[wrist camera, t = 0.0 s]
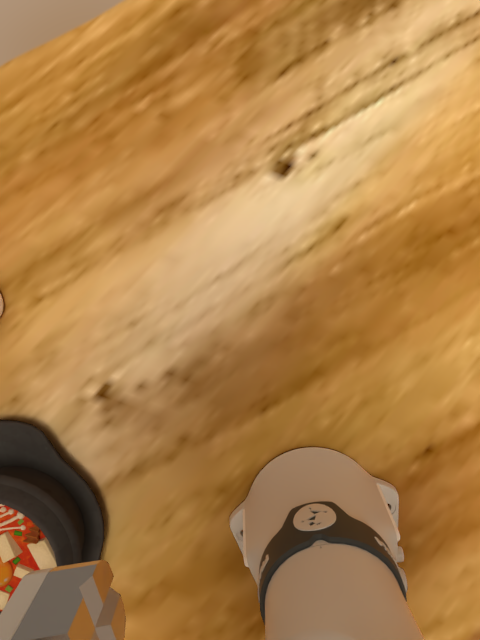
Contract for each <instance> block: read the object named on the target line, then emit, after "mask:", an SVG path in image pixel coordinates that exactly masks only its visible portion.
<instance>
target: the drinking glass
mask: <svg viewBox="0 0 480 640" xmlns="http://www.w3.org/2000/svg"><path fill="white" fill-rule="evenodd" d="M3 307H4V304H3V298H2V295H1V293H0V317H1V315H2V312H3Z"/></svg>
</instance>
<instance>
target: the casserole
mask: <svg viewBox="0 0 480 640" xmlns="http://www.w3.org/2000/svg"><path fill="white" fill-rule="evenodd" d="M103 542H104V522H103V517H102V513H101V508H100V506H99V504H98V502H97V499H96V497H95V495H94V493H93V492H92V490H91V489H90V487H89V486H88V484H87V483H86V481H85V480H84V479H83V478H82V477H81V476H80V475H79V474H78V473H77V472H76V471H75V470H74V469H72V468H71V467H70V466H69V465H68V464H67V463H66V462H65V461H64V460H63V459H62V458H61V457H60V455H59V454H58V452H57V451H56V450H55V448H54V447H53V445H52V444H51V443H50V441H49V440H48V439H47V437H46V436H45V434H44V433H43V432H42V431H41V430H39V429H37V428H36V427H34V426H33V425H31V424H27V423H24V422H20V421H9V420H0V614H1V612H2V611H3V609H4V607H5V606H6V604H7V602H8V601H9V599H10V598H11V596H12V594H13V593H14V591H15V589H16V588H17V586H18V585H19V583H20V581H21V580H22V578H23V577H24V576H25V575H26V574H28V573H29V572H31V571H36V570H42V569H48V568H55V567H59V566H65V565H72V564H78V563H85V562H91V561H98V560H99V559H100V555H101V551H102V546H103Z"/></svg>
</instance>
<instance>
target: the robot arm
mask: <svg viewBox="0 0 480 640" xmlns="http://www.w3.org/2000/svg"><path fill="white" fill-rule="evenodd" d="M387 504H390V505H389V506H388V505H387ZM398 512H399V496H398V493H397V490H396V488H395V487H394V486H393V485H392V484H390V483H388V482H386V481H383V480H381V479H378V478H375V477H373V476H371V475H370V474H368V473H367V472H366V471H365V470H364V469H363V468H362V467H361V466H360V465H359V464H358V463H356V462H355V461H354V460H352V459H351V458H349V457H348V456H346V455H344V454H342V453H340V452H337V451H334V450H331V449H326V448H319V447H307V448H300V449H295V450H292V451H289V452H286V453H284V454H282V455H280V456H278V457H276V458H275V459H273V460H272V461H271V462H269V463H268V464H267V465H266V466H265V467H264V468H263V469H262V470H261V471H260V473H259V474H258V475H257V477H256V479H255V480H254V482H253V484H252V487H251V489H250V491H249V494H248V496H247V498H246V499H245V501H244V502H242V503H241V504H240V505H239V506H238V507H237V508H236V509H235V510H234V511H233V512H232V514H231V515H230V518H229V523H230V529H231V531H232V533H233V535H234V537H235V539H236V541H237V544H238V546H239V548H240V550H241V552H242V554H243V556H244V564H245V566H246V567H249V569H250V571H251V574H252V576H253V578H254V580H255V582H256V583H257V586H258V599H259V602H260V611H261V616H262V619H263V622H264V625H265V640H425V638H424V637H423V635H422V633H421V631H420V629H419V627H418V625H417V623H416V621H415V619H414V617H413V615H412V613H411V611H410V609H409V607H408V605H407V603H406V602H407V600H406V592H407V580H406V575H405V572H404V570H403V569H402V568H400V567H398V564H397V562H403V561H404V553H403V549H402V547H401V546H398V545H397V544H398V541H399V540H400V534H399V531H398ZM241 530H243V532H241ZM113 577H114V576H113V573H112V571H111V568H110V566H109V563H108V562H107V561H104V560H98V561H91V562H85V563H78V564H72V565H65V566H59V567H55V568H48V569H42V570H36V571H31V572H29V573H28V574H26V575H25V576H24V577H23V578H22V580H21V581H20V583H19V585H18V586H17V588H16V589H15V591H14V593H13V594H12V596H11V598H10V599H9V601H8V602H7V604H6V606H5V607H4V609H3V611H2V612H1V614H0V640H124V638H125V624H126V616H125V610H124V604H123V601H122V598H121V595H120V594H118V593H117V592H116V591H114V590H113V589H112V588H110V585H111V582H112V579H113Z"/></svg>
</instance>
